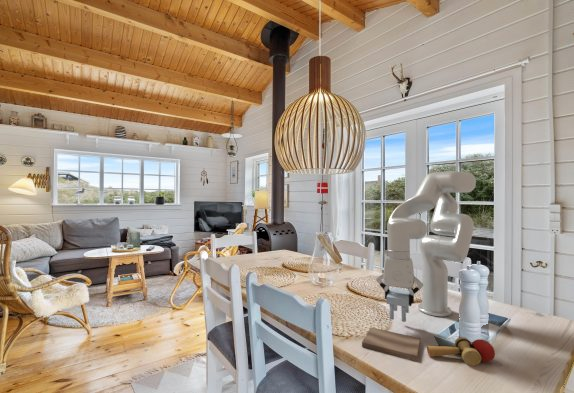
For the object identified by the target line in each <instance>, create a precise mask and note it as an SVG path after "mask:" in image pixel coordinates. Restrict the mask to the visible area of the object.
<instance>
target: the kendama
mask: <svg viewBox="0 0 574 393" xmlns="http://www.w3.org/2000/svg"><path fill="white" fill-rule="evenodd" d="M426 346H427V347H426V350H427V355H428V357H429V358H433V357H434V358H435V357H443V356H451V355H452V356H453V355H459V354H461V359H462V360H463V362H464V363H465V364H466V365H468V366H478V365H479V364H480V363H489V362H490V363H491V362H492V361H493V360H494V359H495V357H496V353H495V351H496V350H495V348H494V346H493V345H492V344H491V343H490V342H489V341H487V340H484V339H482V338H481V339H478V338H477V339H475V340H473V341H472V342H471V341H470V340H469V339H468V338H467V337H464V336H460V337H457V338H456V339H455V341H454V346H443V345H442V346H441V345H440V346H439V345H438V346H434V345H426Z"/></svg>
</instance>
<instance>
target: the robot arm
mask: <svg viewBox="0 0 574 393" xmlns="http://www.w3.org/2000/svg"><path fill="white" fill-rule="evenodd" d="M476 183H477V181H476V177H475V175H474V174H473V173H472V172H468V171H458V170H457V171H456V170H455V171H454V170H453V171H452V170H450V171H448V170H447V171H434V172H433V171H432V172H429V173H427V174H426V175H425V177H424V178H423V180H422V182H421V183H420V186H419V188H418V189H417V191H416V192H415V193H414V196H412V197H411V198H408V199H407V200H405V201H404V202H402V203H400V204H399V205H397V207H396V208H395V209H394V210H393V211H392V213H391V215H390V216H389V219H388V221H387V224H386V229H387V230H386V232H387V233H386V236H387V239H386V240H387V241H386V242H387V249H385V250H383V254H384V255H386V256H385V259H384V262H383V263H384V264H383V266H384V267H383V273H382V274H381V275H379V276H377V278H376V279H375V281H376V282H377V283H378V285H379V286H380V287H381V288H382V290H383V291H384V299H385V300H387V295H388V294H389V292H390V290H391V289H390V287H391V288H399V289H406V290H408V291H409V292H410V293H409V307H412V304H414V302H415V299H414V298H415V294H417V292H419V291H420V290H421V302H420V303H419V304H418V305H417V308H418V310H419V311H420V312H422V313H423V314H426V315H429V316H433V317H444V318H445V317H450V316H452V313H453V312H452V311H453V310H452V309H451V308H450V307H448V301H449V300H448V296H449V295H448V293H449V292H448V291H449V290H448V289H449V287H448V286H449V284H448V283H449V282H448V280H449V278H448V277H449V273H448V272H449V270H448V267H447V264H446V263H445V261H447V262H448V261H449V262H454V263H463V262H464V261H465V260H466V259H467V256H468V253H469V249H470V246H471V241H472V237H473V233H474V228H475V227H474V220H473V219H472V217H471V216H470V215H468V214H465V213H457V212H458V208H459V204H458V202H457V200H456V199H455V197H453V195H451V193H452V194H453V193H454V194H455V193H464V194H465V193H466V194H467V193H471V192H472V191H473V190H474V189H475V187H476ZM432 209H434V211H433V214H432V217H431V220H430V225H429V227H430V228H429V229H430V231H431V232H432V233H434V234H435V235H433V234H429V235H427V234H428V233H427V232H428V225H427V223H426V222H425V221H423V220H422V219H419V218H411V217H412V216H413V215H414V216H415V215H417V214H422V213H426V212H428V211H430V210H432ZM411 240H420V242H419V250H420V255H421V261H422V262H421V264H422V266H421V268H422V271H421V272H422V275H421V276H422V278H421V280H422V281H421V280H419V279H418V278H417V277H416V276H415V270H414V264H413V260H412V258H411V257H410V256H411V250H410V247H411V245H410V242H411ZM382 280H383V281H382ZM415 284H416V285H417V286H415V287H414V285H415Z"/></svg>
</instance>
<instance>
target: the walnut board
mask: <svg viewBox="0 0 574 393" xmlns="http://www.w3.org/2000/svg"><path fill="white" fill-rule="evenodd" d="M420 344H421V337H420V338H419V337H416V336H413V335H407V334H402V333H398V332H394V331H389V330H386V329H385V330H384V329H380V328H376V327H371V326H370V327H369V330H368V331H367V333H366V335H365V336H364V338H363V340H362V342H361V347H362V348H365V349H369V350H373V351H377V352H381V353H384V354H387V355H388V354H389V355H392V356H396V357H401V358H403V359H408V360H411V361H415V362H417V361H418V356H419V350H420V346H421V345H420Z"/></svg>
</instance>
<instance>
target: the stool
mask: <svg viewBox="0 0 574 393" xmlns="http://www.w3.org/2000/svg"><path fill="white" fill-rule="evenodd" d="M389 290H390V292H389V294H388V295H387V299H386V304H387V305H389V320H394V319H395V312H397V311H398V306H399V307H401V308H400V309H401V310H400V311H401V322H403V323H405V322H406V321H407V314H408V313H410V309H409V307H410V306H409V293H410V292H409V291H408V289H404V288H396V287H391V288H390V289H389Z"/></svg>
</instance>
